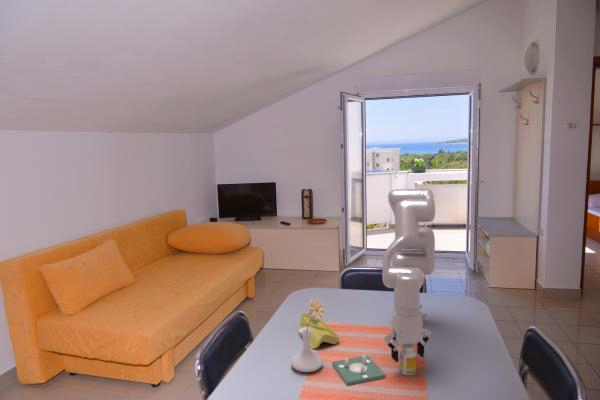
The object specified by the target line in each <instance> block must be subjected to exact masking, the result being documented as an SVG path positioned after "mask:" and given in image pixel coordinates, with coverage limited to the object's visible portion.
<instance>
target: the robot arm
mask: <svg viewBox="0 0 600 400" xmlns="http://www.w3.org/2000/svg"><path fill="white" fill-rule="evenodd" d="M387 195H388V196H387V198H388V203H389V206H390V208H391V211H392V213H393V216H394V240H393V241H392V242H391V244H390V245H389V246H388V247H387V248H386V250H385V251H384V254H383V258H382V284H383V285H384V286H385V287H387V288H388V289H393V295H394V296H393V298H394V299H393V303H394V304H393V306H394V307H393V311H394V313H393V316H392V317H391V318H390V324H391V332H390V333H388V335H386V336H385V337H384V338H383V340H384V342H385V343H386V345H387V346H388V347H389V349H390V348H391V349H390V351H391V352H390V353H391V355H390V356H391V359H392V360H394V361H395V362H396V363H398V362H399V348H400V346H402V345H404V344H410V343H411V344H415V343H416V355H418V356H419V357H421V358H424V357H425V355H424V354H425V346H426V345H427V342H428V341H429V340H430V336H431V334H432V331H430V330H429V329H427V328H424V323H423V318H428V313H427V312H422V311H421V309H423V305H422V304H420V289H421V287H422V286H423V285H424V283H425V276H430V275H433V273H434V272H435V266H436V265H435V264H436V259H435V258H436V250H435V249H436V245H435V244H436V242H435V241H436V240H435V233H434V230H433V229H432V228H430V227H428V226H427V227H426V226H425V227H424V226H421V227H420V226H419V223H430V222H431V223H432V222H433V221H435V220H434V219H435V217H436V204H435V200H434V198H435V197H434V194H433V192H432V190H430V189H428V188H400V189H399V188H397V189H393V190H392V189H391V190H390V191H389V192H388V194H387ZM403 250H405V251H403ZM406 250H408V251H406ZM412 250H414V251H412ZM391 265H392V266H391ZM391 340H392V342H391Z"/></svg>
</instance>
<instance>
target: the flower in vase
mask: <svg viewBox="0 0 600 400" xmlns="http://www.w3.org/2000/svg"><path fill="white" fill-rule="evenodd" d="M307 310H308V314H309V315H311V318H312V319H311V318H310V321H311V322H312V323H313V324H317V323H318V322H319V321H320V320H322V318H324V317H325V314H326V313H325V310H326V309H325V306H324V305H323V303H322V301H320V299H318V298H316V297H315V298H311V299H310V300H309V302H308V303H307ZM310 321H309V324H310ZM309 324H308V325H306V324H302V323H301V325H303V326H307V327H305V328H301V329H300V328H299V330H298V332H299V333H300V335H301V338H302V343H303V349H302V350H301V351H300V352H298V353H297V354H296V355H295V356H294V357H293V358H292V360H291V362H290V363H291V367H292V368H293V369H295V371H298V372H303V373H310V372H315V371H318V370H319V369H320V368H322V367H323V365H324V360H323V358H322V357H321V355H319V354H318V353H316V352H315V351H313V350H312V348H311V347H310V336H311V333H312V332H313V329H312V328H308V327H309Z"/></svg>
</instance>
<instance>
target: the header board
mask: <svg viewBox="0 0 600 400" xmlns="http://www.w3.org/2000/svg"><path fill="white" fill-rule="evenodd" d="M331 365H332V366H333V368H334V370H335V371H336V372H337V373H338V375H339V377H340V378H341V379H342V380H343V382H344V384H346V386H351V385H352V386H353V385H357V384H361V383H362V384H363V383H367V382H373V381H376V380H377V381H378V380H381V379H386V378H387V377H386V373H385V372H384V371H383V370H382V369H381V368H380V366H378V365H377V363H376V362H375V361H374V360H373V359H372V358H371V357H370V356H369V355H368V354H367V355H366V354H362V355H361V356H355V357H351V358H348V357H346V358H345V359H340V360H336V361H332V362H331Z"/></svg>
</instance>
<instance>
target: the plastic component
mask: <svg viewBox="0 0 600 400" xmlns="http://www.w3.org/2000/svg"><path fill="white" fill-rule="evenodd" d="M310 318H311V315H309V313H305V312H302V313H301V315H300V318H299V322H300V323H299V330H300V329H301V328H305V327H307V326H303V325H301V323H302V324H306V325H308V324H309V321H310ZM311 319H312V318H311ZM308 328H312V329H313V332H312V333H311V336H310V349H314V350H315V349H318V348H319V347H320V346H321V344H322V343H328V344H332V345H337V344H338V343H339V339H340V336H339V334H337V333H336V332H335V331H334V330H333V329H332V328H331V327H330V326H329V325H328V324H327V323H326V322H325V321H324V320H322V319H321V320H320V321H319V322H318V323H317V324H313V323H312V322H311V321H310V324H309V327H308Z"/></svg>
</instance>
